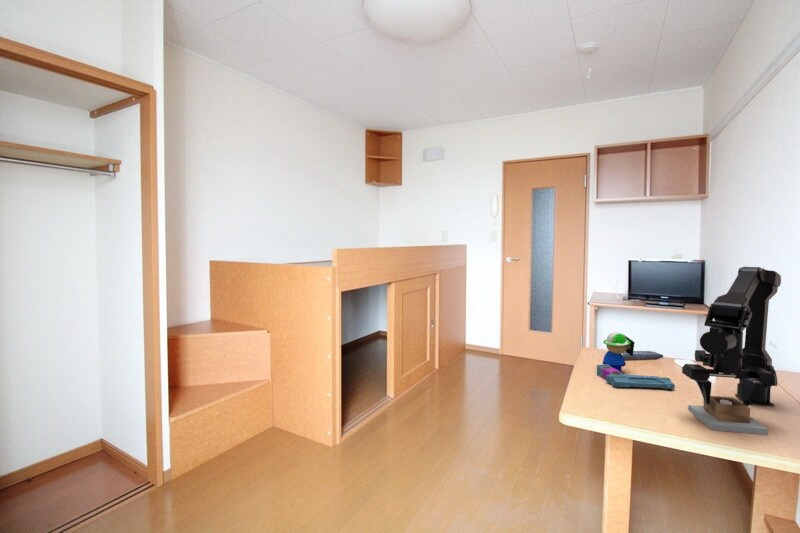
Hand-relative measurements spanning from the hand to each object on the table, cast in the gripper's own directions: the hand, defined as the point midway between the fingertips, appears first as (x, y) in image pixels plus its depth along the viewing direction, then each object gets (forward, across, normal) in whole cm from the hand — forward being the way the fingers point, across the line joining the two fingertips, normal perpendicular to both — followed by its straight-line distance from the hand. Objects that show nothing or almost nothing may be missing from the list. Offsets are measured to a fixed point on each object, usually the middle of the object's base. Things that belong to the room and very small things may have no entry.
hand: (725, 405), depth 101 cm
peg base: (+4, 0, 0) cm, 4 cm away
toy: (+5, +16, -37) cm, 41 cm away
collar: (+3, 0, 0) cm, 3 cm away
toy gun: (+5, +13, -27) cm, 30 cm away
